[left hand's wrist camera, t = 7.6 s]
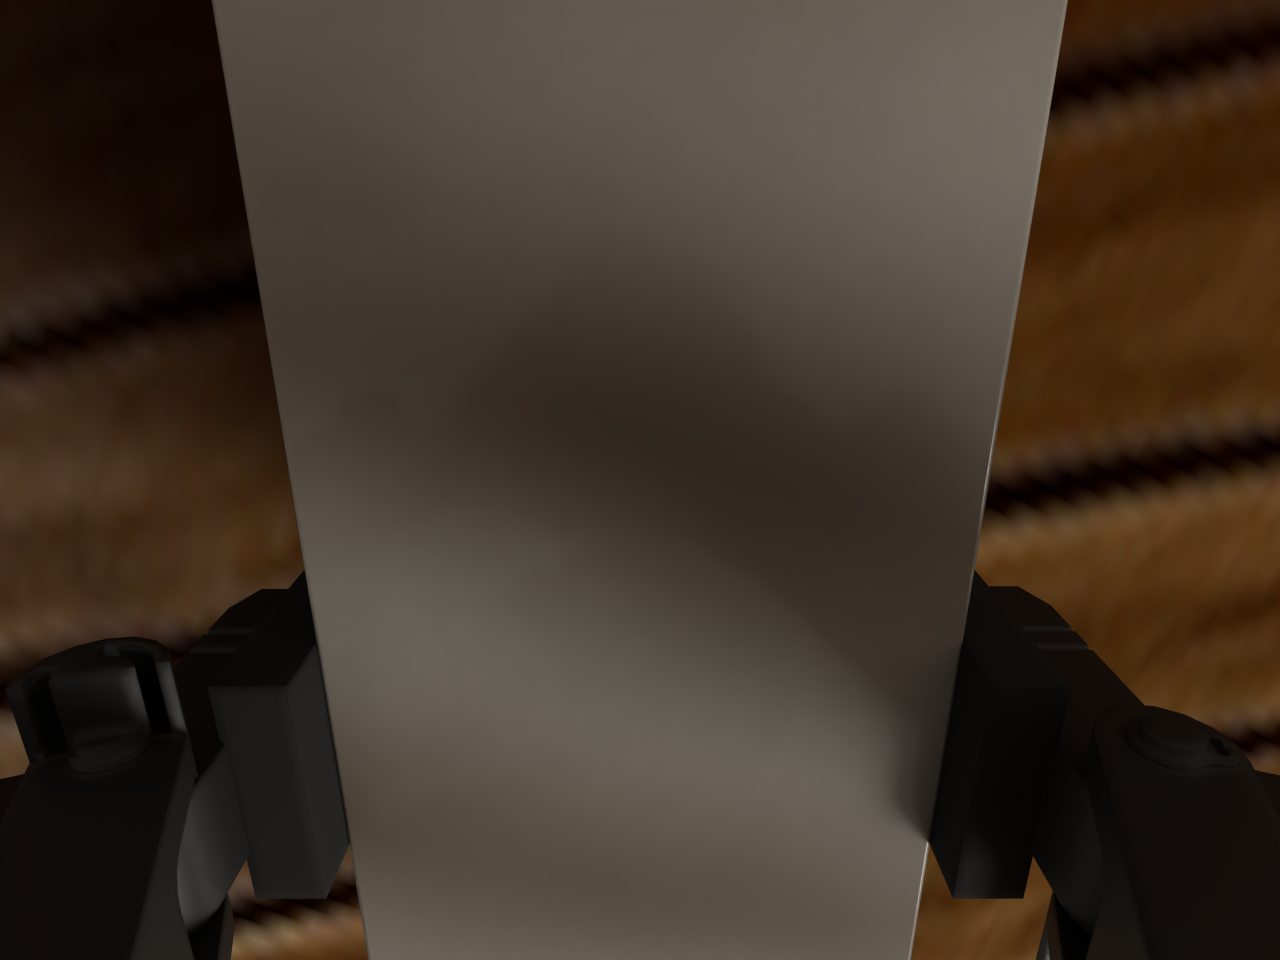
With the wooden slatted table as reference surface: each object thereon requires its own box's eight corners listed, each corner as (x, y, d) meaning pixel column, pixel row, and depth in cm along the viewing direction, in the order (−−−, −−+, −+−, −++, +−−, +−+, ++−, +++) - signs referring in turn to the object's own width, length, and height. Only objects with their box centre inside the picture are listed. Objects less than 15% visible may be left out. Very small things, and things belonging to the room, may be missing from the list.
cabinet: (446, -251, 14) (6, -1222, 4) (831, -250, 14) (1272, -1220, 4) (504, 616, 20) (378, 1034, 10) (772, 616, 20) (900, 1034, 10)
